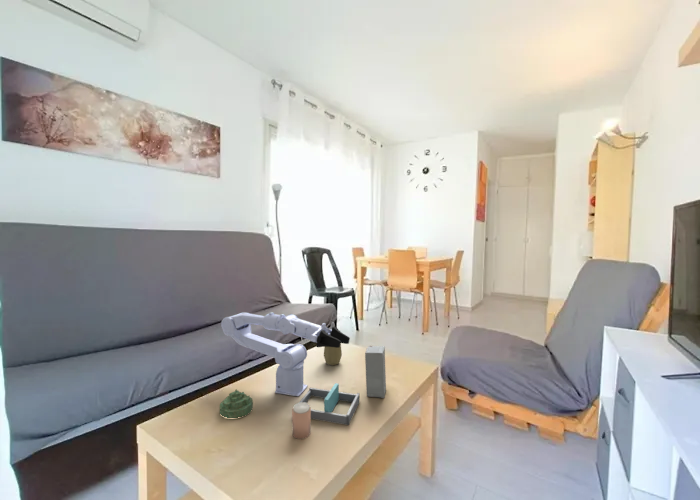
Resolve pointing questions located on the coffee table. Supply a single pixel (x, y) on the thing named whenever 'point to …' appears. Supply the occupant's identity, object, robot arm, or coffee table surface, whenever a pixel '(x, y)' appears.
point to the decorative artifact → (236, 405)
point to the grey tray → (328, 415)
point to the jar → (301, 420)
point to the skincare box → (375, 371)
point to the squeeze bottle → (332, 353)
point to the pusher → (331, 398)
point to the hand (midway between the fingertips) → (344, 342)
